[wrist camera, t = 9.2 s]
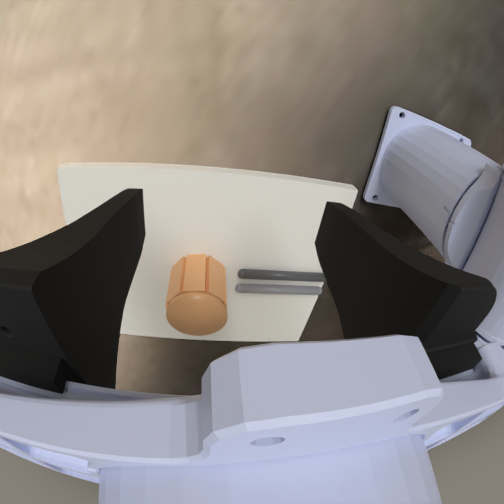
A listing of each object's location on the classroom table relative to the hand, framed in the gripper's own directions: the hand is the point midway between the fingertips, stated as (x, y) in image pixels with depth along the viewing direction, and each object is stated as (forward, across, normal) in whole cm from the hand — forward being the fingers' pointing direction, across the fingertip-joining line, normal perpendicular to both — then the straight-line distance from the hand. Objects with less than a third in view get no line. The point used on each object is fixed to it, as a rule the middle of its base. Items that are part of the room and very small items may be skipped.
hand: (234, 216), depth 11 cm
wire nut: (+8, +2, +11) cm, 14 cm away
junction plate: (+9, +2, +11) cm, 14 cm away
